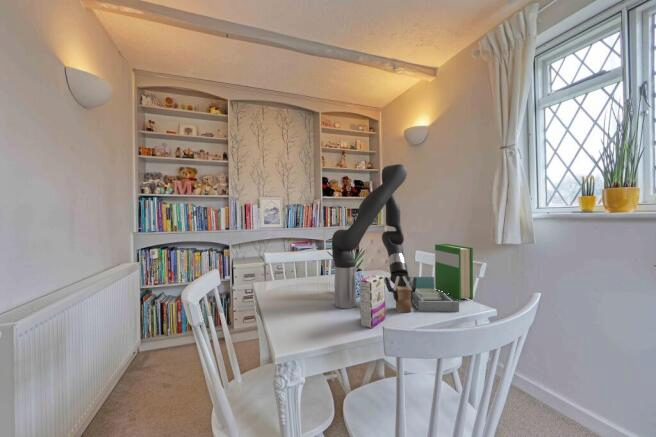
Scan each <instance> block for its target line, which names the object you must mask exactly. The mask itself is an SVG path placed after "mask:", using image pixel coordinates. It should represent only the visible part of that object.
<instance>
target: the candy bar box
mask: <svg viewBox="0 0 656 437" xmlns="http://www.w3.org/2000/svg"><path fill="white" fill-rule="evenodd" d="M384 280H385V275H381V274H372V275H369V276H368V277H365V278H362V279H360V280H359V303H360V304H359V305H360V307H359V308H360V309H359V312H360V326H362V327H366V328H369V329H374V328H375V327H376V326H378V325H379V324H381V323H382V322H383V321H384V320H385V319H386V293H385V292H386V290H385V289H386V287H385V286H386V284H385V282H384Z"/></svg>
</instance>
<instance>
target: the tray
mask: <svg viewBox="0 0 656 437" xmlns="http://www.w3.org/2000/svg"><path fill="white" fill-rule="evenodd" d="M414 277H416V278H417V282H416V290H415V291H416V292H417V294H418V295H419V296H420V297H421V298H422V299H423V300H442V298H441V297H440V294H439V292H438V291H436V290H435V276H410V278H414ZM408 283H409V284H410V287H411V288H412V285H413V283H411V281H410V280H409V282H408Z"/></svg>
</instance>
